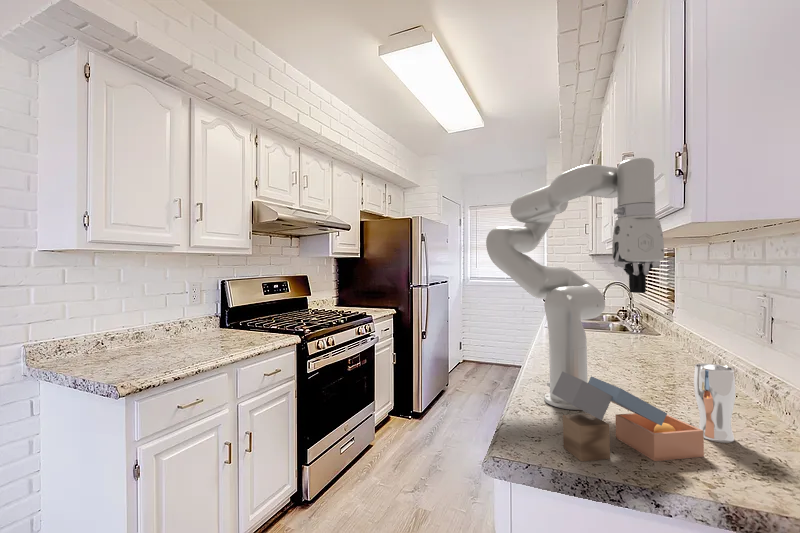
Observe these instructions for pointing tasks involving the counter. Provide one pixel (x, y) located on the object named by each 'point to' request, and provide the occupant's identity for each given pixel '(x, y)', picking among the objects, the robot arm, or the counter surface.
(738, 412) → the counter surface
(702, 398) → the beer glass
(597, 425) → the pedestal
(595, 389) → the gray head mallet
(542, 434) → the counter surface
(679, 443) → the shallow terracotta crate
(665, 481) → the counter surface
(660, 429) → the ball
